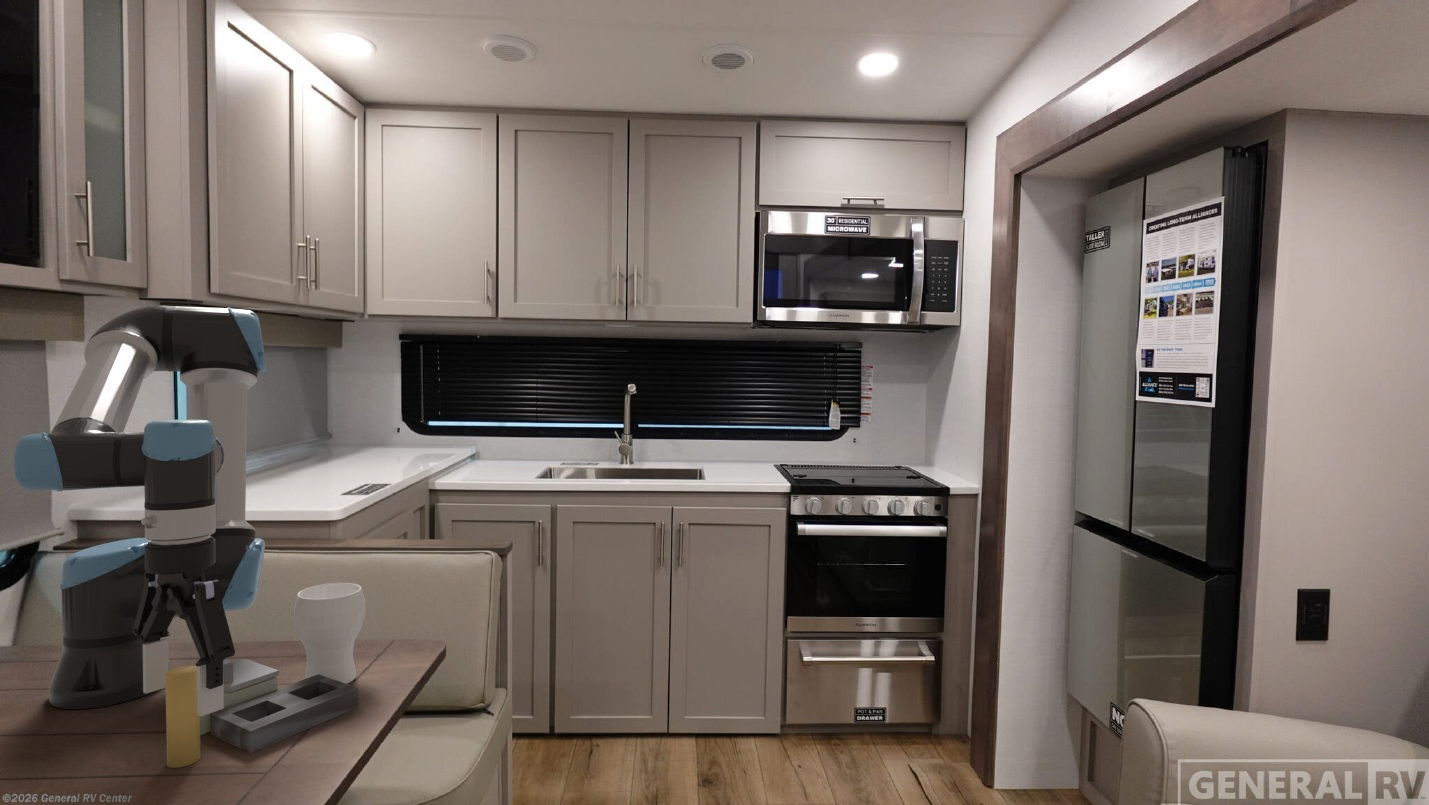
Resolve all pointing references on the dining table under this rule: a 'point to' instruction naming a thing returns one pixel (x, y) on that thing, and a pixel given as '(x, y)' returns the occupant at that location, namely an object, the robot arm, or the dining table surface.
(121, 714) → the dining table surface
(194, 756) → the peg
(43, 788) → the dining table surface
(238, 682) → the lid
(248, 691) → the pale green box tray
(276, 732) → the peg board
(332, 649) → the cup
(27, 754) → the dining table surface
